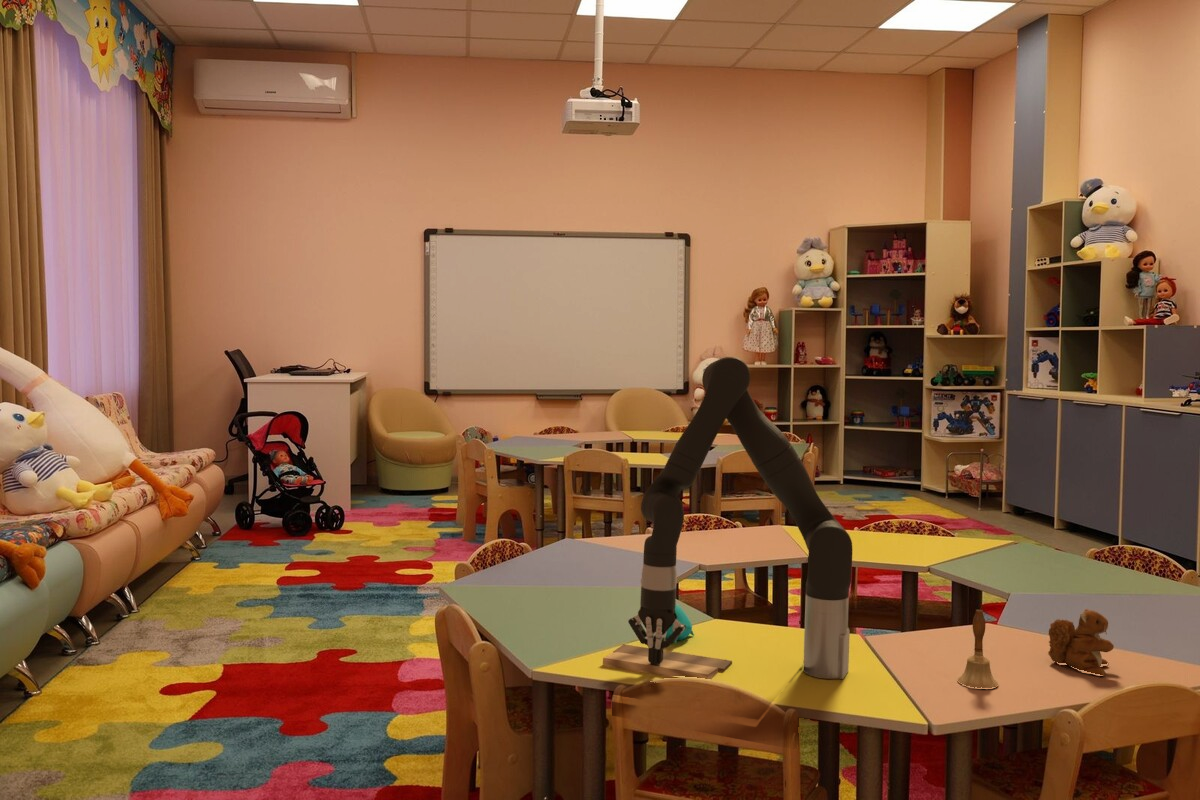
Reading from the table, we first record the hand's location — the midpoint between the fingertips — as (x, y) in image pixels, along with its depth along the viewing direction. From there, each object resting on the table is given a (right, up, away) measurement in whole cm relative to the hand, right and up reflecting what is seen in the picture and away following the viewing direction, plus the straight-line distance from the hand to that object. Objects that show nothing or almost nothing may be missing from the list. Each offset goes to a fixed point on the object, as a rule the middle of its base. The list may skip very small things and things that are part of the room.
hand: (655, 664), depth 219 cm
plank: (+1, -2, +2) cm, 3 cm away
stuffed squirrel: (+96, -4, +12) cm, 97 cm away
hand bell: (+69, -4, -1) cm, 69 cm away
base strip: (+4, -2, +9) cm, 10 cm away
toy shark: (+6, -1, +25) cm, 25 cm away
